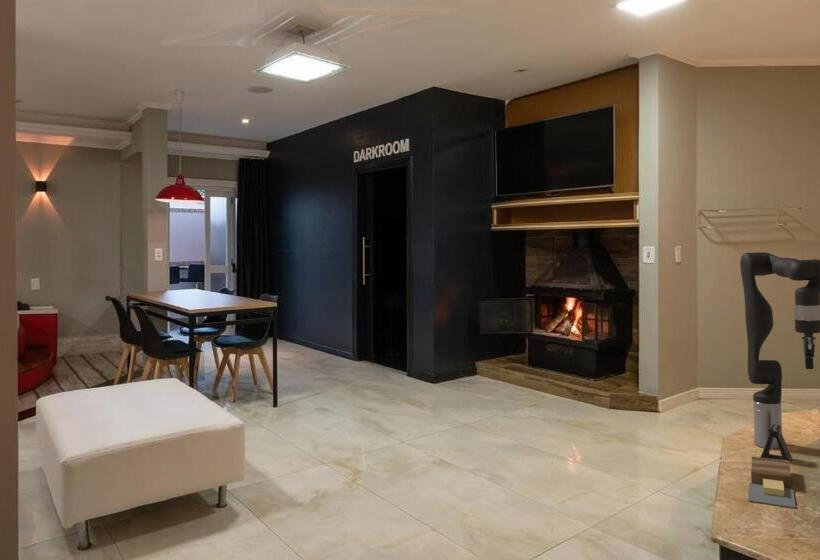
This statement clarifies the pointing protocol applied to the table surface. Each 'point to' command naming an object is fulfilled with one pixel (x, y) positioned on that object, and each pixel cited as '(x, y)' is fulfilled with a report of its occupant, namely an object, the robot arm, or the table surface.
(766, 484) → the yellow block
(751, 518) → the table surface
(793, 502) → the mat
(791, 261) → the robot arm
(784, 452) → the phone stand
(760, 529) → the table surface
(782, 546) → the table surface
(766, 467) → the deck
